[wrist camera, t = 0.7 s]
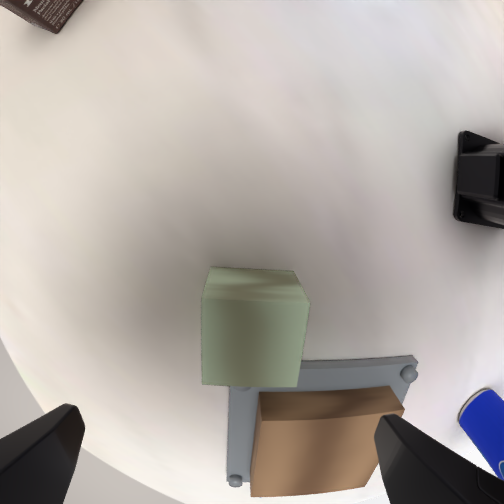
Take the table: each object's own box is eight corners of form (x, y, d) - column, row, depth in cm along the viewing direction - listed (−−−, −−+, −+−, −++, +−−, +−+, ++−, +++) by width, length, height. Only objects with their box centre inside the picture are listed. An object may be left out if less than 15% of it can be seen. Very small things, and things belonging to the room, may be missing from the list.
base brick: (389, 385, 20) (404, 409, 18) (356, 463, 23) (364, 486, 20) (258, 391, 20) (261, 420, 17) (249, 471, 22) (250, 496, 19)
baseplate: (412, 355, 21) (422, 367, 19) (366, 465, 24) (370, 477, 23) (231, 359, 20) (230, 374, 19) (226, 473, 24) (226, 487, 22)
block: (293, 270, 19) (310, 302, 14) (284, 341, 20) (296, 387, 15) (211, 266, 19) (201, 297, 14) (209, 338, 20) (201, 384, 15)
